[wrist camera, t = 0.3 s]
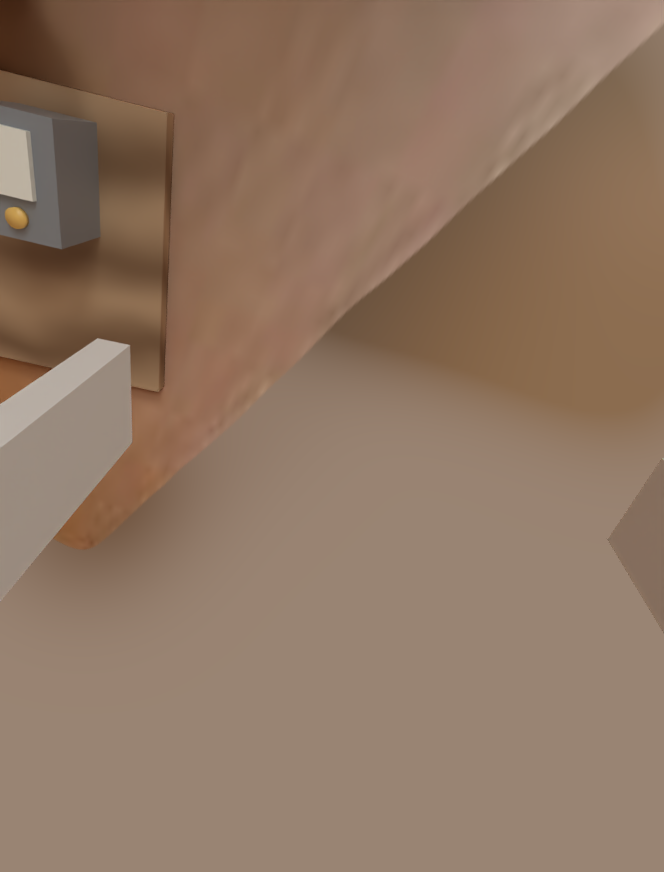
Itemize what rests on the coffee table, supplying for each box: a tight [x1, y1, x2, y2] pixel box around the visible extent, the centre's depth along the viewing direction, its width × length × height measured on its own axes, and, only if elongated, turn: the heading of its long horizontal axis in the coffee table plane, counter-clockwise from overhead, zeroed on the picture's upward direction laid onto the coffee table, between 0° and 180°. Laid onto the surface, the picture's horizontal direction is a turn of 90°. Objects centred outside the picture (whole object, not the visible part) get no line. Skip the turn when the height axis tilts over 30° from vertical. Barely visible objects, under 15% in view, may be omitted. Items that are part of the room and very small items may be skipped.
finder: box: [0, 101, 101, 249], centre depth 30 cm, size 7×5×5 cm
